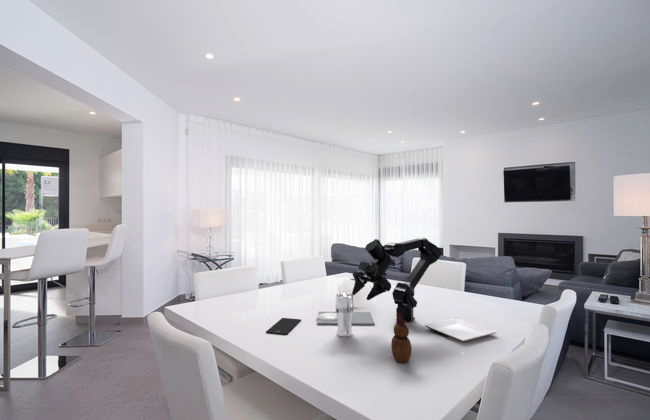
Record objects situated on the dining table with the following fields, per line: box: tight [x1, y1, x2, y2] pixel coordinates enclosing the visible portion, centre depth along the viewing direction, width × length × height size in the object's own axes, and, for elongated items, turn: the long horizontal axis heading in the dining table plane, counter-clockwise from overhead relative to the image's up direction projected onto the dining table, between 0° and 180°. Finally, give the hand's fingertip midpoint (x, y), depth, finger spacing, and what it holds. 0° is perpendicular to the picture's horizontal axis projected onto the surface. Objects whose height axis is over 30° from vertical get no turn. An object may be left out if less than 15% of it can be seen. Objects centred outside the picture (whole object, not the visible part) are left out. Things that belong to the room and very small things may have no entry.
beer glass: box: [335, 292, 355, 338], centre depth 124 cm, size 7×7×15 cm
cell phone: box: [265, 317, 302, 336], centre depth 132 cm, size 9×18×1 cm, turn 166°
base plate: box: [316, 311, 376, 326], centre depth 142 cm, size 24×16×1 cm, turn 89°
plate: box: [424, 318, 497, 342], centre depth 125 cm, size 19×19×2 cm
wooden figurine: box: [390, 311, 413, 364], centre depth 101 cm, size 7×6×15 cm
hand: (359, 297), depth 128 cm, fingers open, 9 cm apart
